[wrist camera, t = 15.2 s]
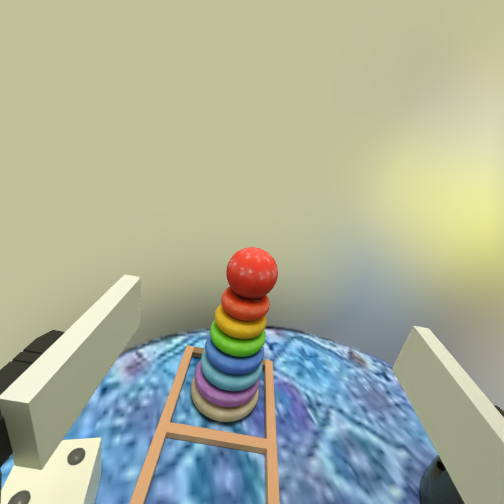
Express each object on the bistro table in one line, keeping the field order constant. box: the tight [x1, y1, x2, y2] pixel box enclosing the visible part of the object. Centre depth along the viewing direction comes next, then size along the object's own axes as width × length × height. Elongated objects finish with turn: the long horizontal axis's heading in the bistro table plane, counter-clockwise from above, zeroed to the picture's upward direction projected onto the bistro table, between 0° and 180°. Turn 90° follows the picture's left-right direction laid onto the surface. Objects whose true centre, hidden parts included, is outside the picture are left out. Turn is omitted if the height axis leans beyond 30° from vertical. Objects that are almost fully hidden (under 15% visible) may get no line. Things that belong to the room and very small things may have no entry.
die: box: [1, 438, 101, 504], centre depth 20 cm, size 5×5×5 cm
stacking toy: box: [191, 247, 278, 422], centre depth 30 cm, size 8×8×19 cm
